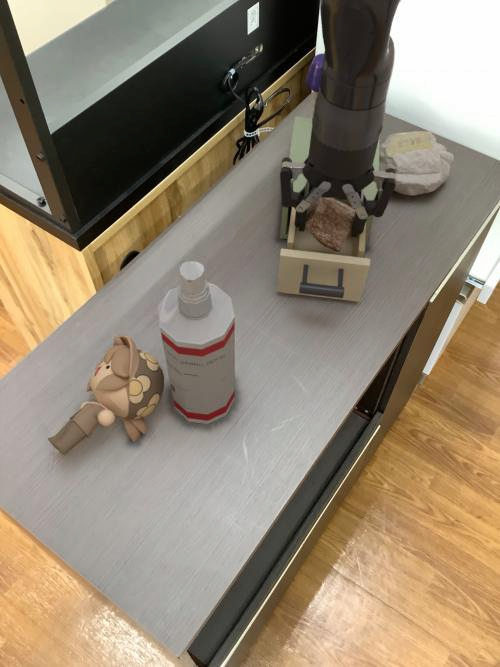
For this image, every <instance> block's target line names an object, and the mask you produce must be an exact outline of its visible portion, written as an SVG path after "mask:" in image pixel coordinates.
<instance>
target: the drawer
mask: <svg viewBox="0 0 500 667" xmlns="http://www.w3.org/2000/svg"><path fill="white" fill-rule="evenodd" d="M340 202H342V203H345V204H347V205H349V206H350V207H351V208H352V206H351V204H350V202H345V201H340ZM354 210H355V209H354ZM307 211H308V208H307ZM295 215H296V210H295V208H294V207H292V211H291V219H290V226H289V234H288V239H287V243H286V248H281V249H280V254H279V263H278V274H277V285H276V292H277V293H283V294H291V295H292V294H293V295H301V296H309V297H318V298H325V299H334V300H343V301H350V302H351V301H352V302H357V303H359V302H361V299H362V296H363V295H362V294H363V291H364V288H365V284H366V282H367V278H368V274H369V270H370V267H371V258H368V257H364V256H365V252H366V247H365V236H366V223H365V227H364V231H363V233H362V234H357V237H351V233H352V226H351V229H350V231H349V233H348V236H347V238H346V240H345V242H344V245H343V247H342V249H341V250H340V251H339V252H336V251H334V250H332V249H329V248H327V247H325V246H323V245H322V244H320V243H319V242H318V241H317V239H316V238H315V237H314V236H313V235H312V233H311V232H310V231H309V230H308V228H307V226H306V223H305V229H304V232H302V231H299V227H295V224H294V223H295ZM306 218H307V214H306Z"/></svg>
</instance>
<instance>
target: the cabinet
mask: <svg viewBox="0 0 500 667" xmlns="http://www.w3.org/2000/svg"><path fill="white" fill-rule="evenodd" d="M312 118H313V117H305V116H296V115H295V116H294V118H293V119H294V121H293V125H292V126H293V129H292V134H291V140H290V141H291V142H290V148H289V155H288V158H290V159H291V160H292V162H296V163H304V161H305V160H306V159H307V157H308V155H309V147H310V139H311V131H312ZM380 139H381V136H380V137H379V141H378V145H377V149H376V153H375V158H374V162H373V167H374V170H376V171H379V147H380V146H381V144H380V142H381V140H380ZM306 182H307V179H306V178H305V177H304V175H303V174H300V175H298V178H297V180H295V181H294V182H293V191H294V192H296V193H299V192H300V191H301V190H302V189H303V188H304V186H305V185H306ZM377 191H378V189H377V188H376V183H375V182H374V181H373V182H372V183H371V184H369V185H368V186H367V187H365V188H364V193H365V195H366V198H367V200H368V201H371V200H374V198H375V195H376V193H377ZM333 198H334V199H335V200H338V201H345V202H349V200H348V198H347V200H342V199H338V198H335V197H333ZM291 211H292V207H291V206H290V207H288V208H286V207H284V206H283V205H282V212H281V221H280V222H281V223H280V234H279V238H280V239H283V240H288V234H289V226H290V219H291ZM374 217H375V216H374V215H371V216H369V217H367V219H366V236H365V248H366V247H367V243H368V239H369V236H370V231H371V228H372V225H373V222H374Z"/></svg>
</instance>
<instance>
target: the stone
mask: <svg viewBox="0 0 500 667" xmlns="http://www.w3.org/2000/svg"><path fill="white" fill-rule="evenodd" d="M354 215H355V210H354V209H353V208H351V207H350V206H349V205H347V204H345V203H342V202H340V201H338V200H335V199H334V198H324V197H320V198H319V199H318V200H317V201H316V202H315V203H314V204H311V205H310V206H309V207H308V211H307V218H306V222H305V223H306V226H307V228H308V230H309V231H310V232H311V233H312V235H313V236H314V237H315V238H316V239H317V241H318V242H319V243H320V244H322V245H323V246H325V247H327V248H329V249H332V250H334V251H336V252H339V251H340V250H341V249H342V247H343V245H344V242H345V240H346V238H347V236H348V233H349V231H350V229H351V226H352V224H353V220H354Z"/></svg>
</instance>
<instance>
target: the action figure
mask: <svg viewBox="0 0 500 667" xmlns="http://www.w3.org/2000/svg"><path fill="white" fill-rule="evenodd" d="M105 352H106V353H105V354H104V356H103V357H102V358H101V359H100V360H99V362H98V363H97V365H96V367H95V369H94V371H93V373H92V375H91V377H90V379H89V381H88V383H87V387H86V393H89V392H92V394H93V396H94V397H95V399H96V401H93V400H92V401H89V400H86V401H84V402H82V403H81V405H79V409H78V411H76V412H75V413H74V414H72V416H70V417H69V420H68V421H67V422H66V423H65V424H64V425H63V427H62V428H61V429H60V430H59V431H58V432H57V433H56V434H54V435H53V436H51V437H47V441H49V443H50V445H52V446H53V448H55V449H56V450H57V451H58V452H59V453H60V454H62V455H63V456H65V455H67V454H69V452H70V451H72V450H73V449H74V448H75V447H76V446H78V445H79V444H80V443H81V442H82V441H84V440H85V439H90V437H91V436H92V434H93V432H94V431H95V430H96V428H97V427H98V426H99V425H101V426H104V427H109V426H111V425H113V424H114V422H115V420H116V417H115V416H117V417H118V418H120V419H122V421H123V427H124V429H125V432H126V434H127V435H128V437H129V438H130V440H131V441H132V442H133V443H135V442H136V441H137V440H139V438H140V436H141V434H143V435H144V436H145V435H146V434H147V431H148V425H147V421H146V420H145V418H144V417H146V416H148V415H149V414H151V413H152V412H153V411H154V410H155V409H156V407H157V406H158V404H159V402H160V401H161V399H162V396H163V393H164V388H165V374H164V371H163V370H164V369H163V368H162V366H161V364H160V362H159V361H158V360H157V358H155V357H153V356H152V355H151V354H150V353H148V352H147V351H144V350H141V349H138V348H137V345H136V342H135V341H134V340H133V338H131V337H130V336H128V335H127V334H120V335H119V336H113V344H112V346H111V347H110V348H108V349H107V351H105Z"/></svg>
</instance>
